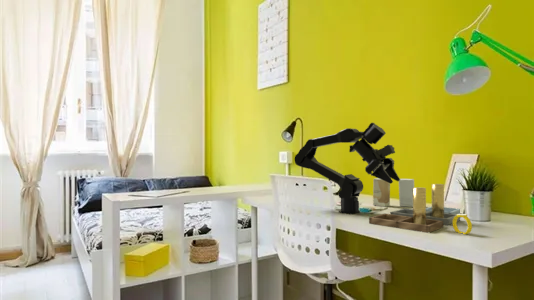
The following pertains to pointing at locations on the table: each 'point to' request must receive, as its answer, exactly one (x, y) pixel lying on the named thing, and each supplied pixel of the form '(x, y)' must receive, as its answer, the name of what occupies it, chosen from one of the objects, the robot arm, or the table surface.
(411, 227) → the tray
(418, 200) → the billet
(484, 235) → the table surface
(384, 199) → the skincare box
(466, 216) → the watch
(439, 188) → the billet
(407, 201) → the skincare box
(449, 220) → the tray
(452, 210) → the tray
